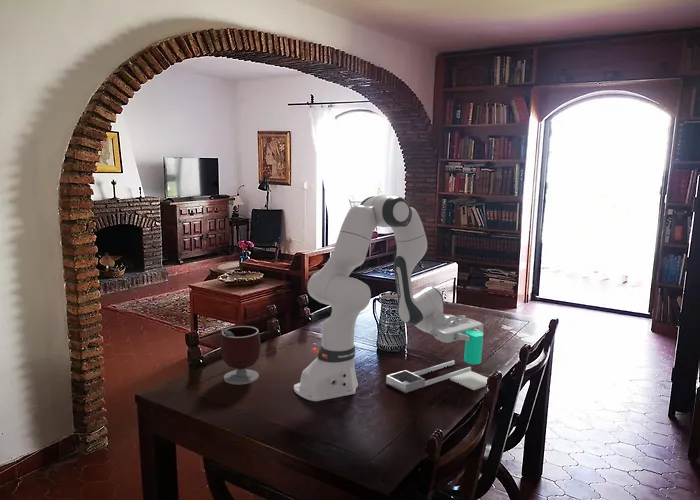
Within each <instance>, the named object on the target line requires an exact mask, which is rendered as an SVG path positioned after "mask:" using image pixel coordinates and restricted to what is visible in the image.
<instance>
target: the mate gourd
mask: <svg viewBox="0 0 700 500" xmlns="http://www.w3.org/2000/svg"><path fill="white" fill-rule="evenodd" d="M219 332H221V337H220V353H221V358H222V360H223V362H224V363H225V365H227V367H229V368H232V369H234V370H231V371H229V372H227V373H225V374H224V375H223V380H224V382H225V383H228V384H230V385H239V386H240V385H246V384H247V385H248V384H252V383H254V382H256V381H257V380H259V373H258V371H256V370H252V369H247V368H249V367H253V366H254V365H255V364H256V362H257V361H258V360H259V359H260V355H261V354H260V353H261V347H262V346H261V343H262V342H261V335H260V331H259V328H257V327H255V326H248V325H238V326H232V327H228V328H225V329H224V328H223V329H222V328H220V329H219Z"/></svg>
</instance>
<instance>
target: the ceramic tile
mask: <svg viewBox="0 0 700 500" xmlns="http://www.w3.org/2000/svg"><path fill="white" fill-rule="evenodd" d="M488 378H489V377H487V376H484V375H483V374H479V373H477V372H475V371H472V370H471V371H469V372H466V373H463V374H460V375H457V376H454V377H450V378H449V380H450V381H451V382H455V383H457V384H458V383H459V385H461V386H464V387H466V388H468V389H470V390H473V391H475V390H479V389H481V388H483V387H487V386H486V384H487V379H488Z"/></svg>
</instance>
